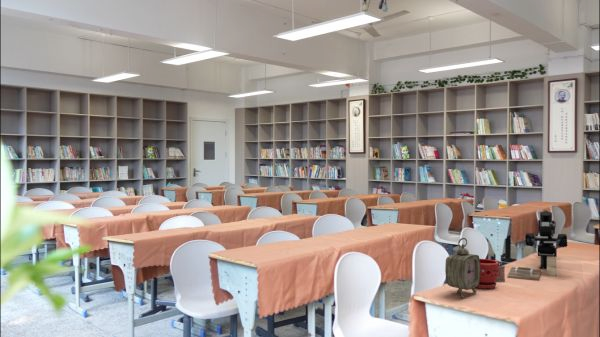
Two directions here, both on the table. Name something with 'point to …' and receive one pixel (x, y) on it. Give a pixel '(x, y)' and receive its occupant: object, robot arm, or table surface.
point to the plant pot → (488, 273)
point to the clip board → (524, 273)
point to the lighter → (500, 272)
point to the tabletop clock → (463, 270)
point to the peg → (551, 266)
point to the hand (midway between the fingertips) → (545, 247)
